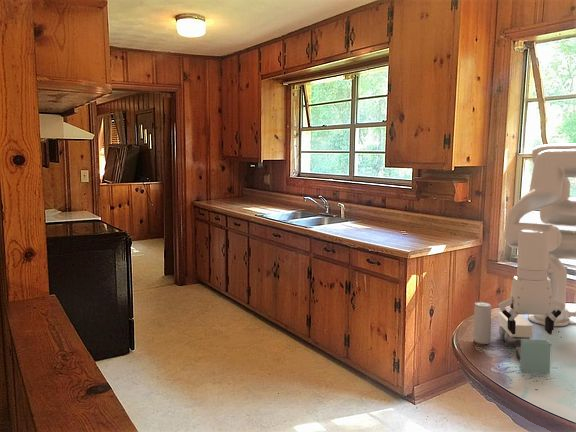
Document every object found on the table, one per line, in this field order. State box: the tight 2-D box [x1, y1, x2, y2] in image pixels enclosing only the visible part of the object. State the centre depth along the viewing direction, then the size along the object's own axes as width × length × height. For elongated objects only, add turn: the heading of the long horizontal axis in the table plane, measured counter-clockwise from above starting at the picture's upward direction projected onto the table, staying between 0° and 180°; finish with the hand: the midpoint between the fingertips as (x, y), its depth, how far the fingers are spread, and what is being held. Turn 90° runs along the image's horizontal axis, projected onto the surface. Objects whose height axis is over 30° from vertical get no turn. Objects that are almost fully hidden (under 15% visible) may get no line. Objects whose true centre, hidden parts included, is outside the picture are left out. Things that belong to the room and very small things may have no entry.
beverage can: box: [473, 301, 492, 345], centre depth 148 cm, size 5×5×12 cm
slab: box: [497, 311, 534, 338], centre depth 147 cm, size 6×12×4 cm, turn 173°
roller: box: [515, 346, 521, 361], centre depth 135 cm, size 6×4×4 cm, turn 84°
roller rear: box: [498, 325, 506, 340], centre depth 150 cm, size 6×4×4 cm, turn 83°
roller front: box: [504, 332, 531, 347], centre depth 145 cm, size 6×4×4 cm, turn 83°
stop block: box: [519, 338, 552, 374], centre depth 128 cm, size 6×3×8 cm, turn 83°
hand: (530, 332), depth 136 cm, fingers open, 9 cm apart
